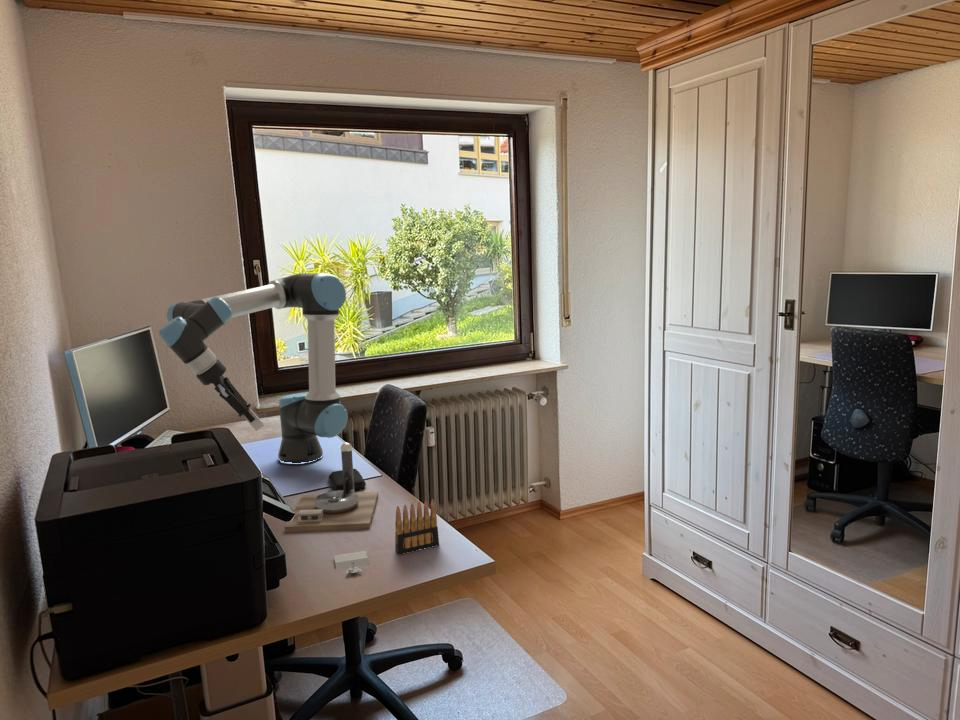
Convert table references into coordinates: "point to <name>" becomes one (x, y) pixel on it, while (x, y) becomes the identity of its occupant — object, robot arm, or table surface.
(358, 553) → the white sign holder
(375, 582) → the table surface
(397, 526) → the ammunition clip
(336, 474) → the carrying case or bag
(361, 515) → the level stand
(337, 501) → the grey rod on disc
